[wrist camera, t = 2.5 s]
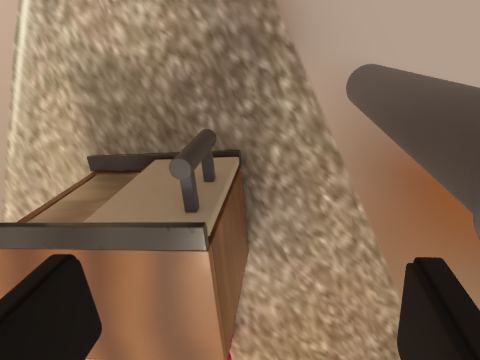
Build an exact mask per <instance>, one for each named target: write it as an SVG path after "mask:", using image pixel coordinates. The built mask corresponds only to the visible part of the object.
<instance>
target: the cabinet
mask: <svg viewBox="0 0 480 360" xmlns="http://www.w3.org/2000/svg"><path fill="white" fill-rule="evenodd" d="M212 152H213V158H221V157H239V166H238V167H240V166H241V160H240V150H230V151H212ZM179 153H180V152H178V153H152V154H126V155H100V156H88V157H87V159H88V163H89V167H90V170H91V171H110V172H93V173H91V174H90V175H88V176H87V177H85V178H84V179H82V180H81V181H79V182H78V183H76V184H74V185H73V186H71V187H70V188H68V189H67V190H65V191H64V192H62V193H61V194H59V195H58V196H56V197H55V198H53V199H51V200H50V201H48V202H47V203H45V204H44V205H42V206H41V207H39V208H38V209H36V210H35V211H33V212H32V213H30V214H28V215H27V216H25V217H24V218H22V219H21V220H19V221H18V222H16V223H0V299H1V298H2V297H3V296H4V295H6V294H7V293H8V292H9V291H10V290H11V289H12V288H14V287H15V286H16V285H17V284H18V283H19V282H21V281H22V280H23V279H24V278H25V277H26V276H27V275H29V274H30V273H31V272H32V271H33V270H34V269H35V268H37V267H38V266H39V265H40V264H41V263H42V262H43V261H45V260H46V259H47V258H48V257H49V256H51V255H53V254H72V255H74V256H75V257H76V258H77V259H78V260H79V261H80V262H81V265H82V267H83V270H84V273H85V276H86V279H87V282H88V285H89V288H90V291H91V294H92V297H93V300H94V303H95V306H96V309H97V311H98V314H99V317H100V320H101V323H102V332H101V335H100V337H99V339H98V340H97V342H96V343H95V345H94V346H93V348H92V350H91V351H90V353H89V354H88V356H87V357H86V359H94V360H227V358H228V354H229V349H230V344H231V339H232V334H233V328H234V323H235V318H236V313H237V308H238V303H239V298H240V293H241V287H242V282H243V277H244V272H245V267H246V262H247V257H248V240H247V229H246V218H245V206H244V195H243V183H242V172H241V168H237V171H236V173H235V176H234V178H233V180H232V183H231V185H230V188H229V190H228V192H227V195H226V197H225V200H224V202H223V204H222V207H221V209H220V212H219V214H218V216H217V219H216V221H215V224H214V226H213V228H212V231H211V233H210V235H209V236H208V234H207V227H206V222H84V221H85V220H86V219H87V218H89V217H90V216H91V215H92V214H93V213H94V212H96V211H97V210H98V209H99V208H100V207H101V206H102V205H104V204H105V203H106V202H107V201H108V200H109V199H111V198H112V197H113V196H114V195H115V194H116V193H118V192H119V191H120V190H121V189H122V188H123V187H125V186H126V185H127V184H128V183H129V182H130V181H131V180H133V179H134V178H135V177H136V176H137V175H138V174H140V173H141V172H142V171H116V170H144V169H145V168H147V167H148V166H149V165H150V164H151V163H152V162H153V161H155V160H164V159H174V158H175V157H176V156H177V155H178V154H179Z"/></svg>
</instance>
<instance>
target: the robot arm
mask: <svg viewBox="0 0 480 360" xmlns="http://www.w3.org/2000/svg"><path fill="white" fill-rule="evenodd" d="M101 332H102V323H101V320H100V317H99V314H98V311H97V309H96V306H95V303H94V300H93V297H92V294H91V291H90V288H89V285H88V282H87V279H86V276H85V273H84V270H83V267H82V265H81V262H80V261H79V260H78V259H77V258H76V257H75V256H74V255H72V254H53V255H51V256H49V257H48V258H47V259H46V260H45V261H43V262H42V263H41V264H40V265H39V266H38V267H37V268H35V269H34V270H33V271H32V272H31V273H30V274H29V275H27V276H26V277H25V278H24V279H23V280H22V281H21V282H19V283H18V284H17V285H16V286H15V287H14V288H12V289H11V290H10V291H9V292H8V293H7V294H6V295H4V296H3V297H2V298H1V299H0V360H85V359H86V357H87V356H88V354H89V353H90V351H91V350H92V348H93V346H94V345H95V343H96V342H97V340H98V339H99V337H100V335H101ZM397 346H398V352H399V355H400V358H401V360H480V310H479V309H478V308H477V306H476V305H475V304H474V302H473V301H472V299H471V298H470V297H469V295H468V294H467V292H466V291H465V289H464V288H463V286H462V285H461V284H460V282H459V281H458V279H456V277H455V275H454V274H453V272H452V271H451V270H450V268H449V267H448V266H447V264H446V263H445V261H444V260H443V259H442V258H430V257H423V258H422V257H417V258H415V260H414V262H413V263H408V264H407V266H406V271H405V280H404V288H403V296H402V304H401V312H400V321H399V329H398V337H397Z"/></svg>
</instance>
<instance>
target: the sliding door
mask: <svg viewBox="0 0 480 360" xmlns="http://www.w3.org/2000/svg"><path fill="white" fill-rule="evenodd" d="M215 142H216V135H215V133H214V132H213V131H212V130H210V129H204V130H202V131H201V132H200V133H199V134H198V135H197V136H196V137H195V138H194V139H193V140H192V141H191V142H190V143H189V144H188V145H187V146H186V147H185V148H184V149H183V150H182V151H181V152H180V153H179V154H178V155H177V156H176V157H175V158H174V159H164V160H155V161H153V162H152V163H151V164H150V165H149V166H148V167H147V168H145V169H144V170H143V171H142V172H141V173H140V174H138V175H137V176H136V177H135V178H134V179H133V180H131V181H130V182H129V183H128V184H127V185H126V186H125V187H123V188H122V189H121V190H120V191H119V192H118V193H116V194H115V195H114V196H113V197H112V198H111V199H109V200H108V201H107V202H106V203H105V204H104V205H102V206H101V207H100V208H99V209H98V210H97V211H96V212H94V213H93V214H92V215H91V216H90V217H89V218H87V219H86V220H85V221H84V222H206V227H207V234H208V236H209V235H210V233H211V231H212V228H213V226H214V224H215V221H216V219H217V216H218V214H219V212H220V209H221V207H222V204H223V202H224V200H225V197H226V195H227V192H228V190H229V188H230V185H231V183H232V180H233V178H234V176H235V173H236V171H237V168H238V166H239V157H221V158H213V152H212V146H213V145H214V144H215Z"/></svg>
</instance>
